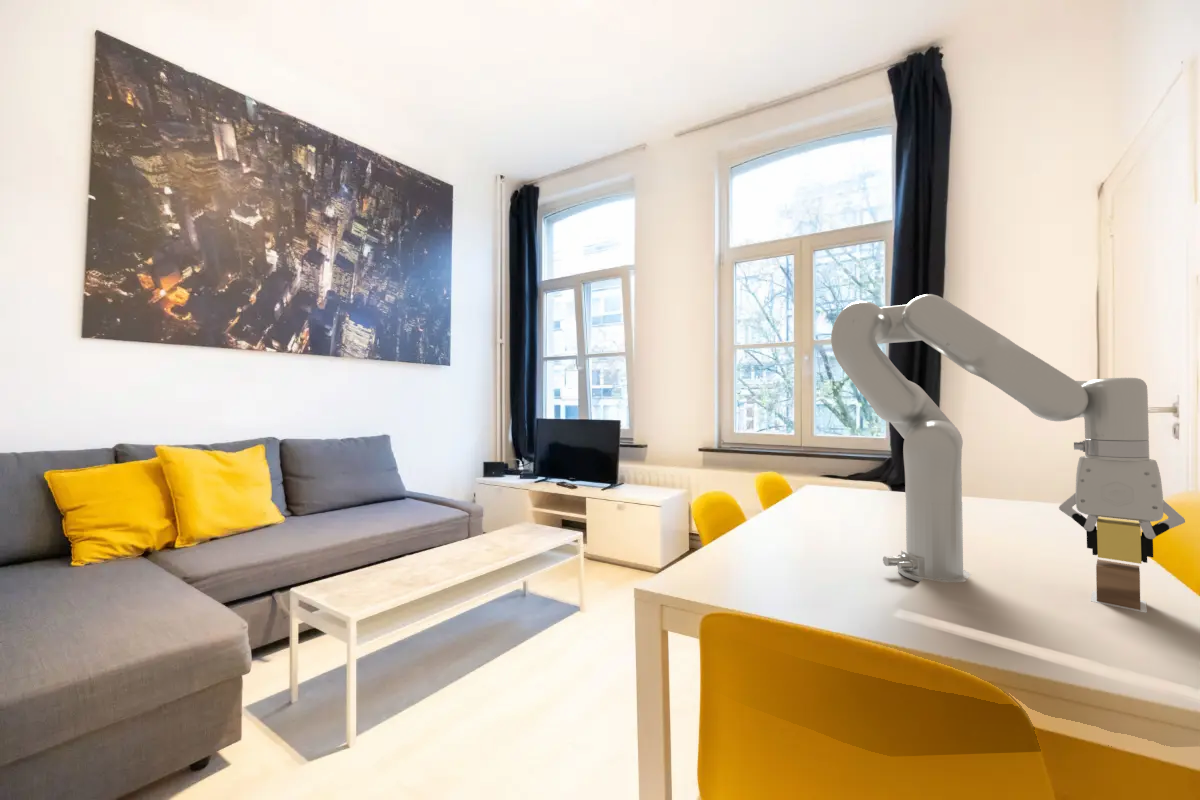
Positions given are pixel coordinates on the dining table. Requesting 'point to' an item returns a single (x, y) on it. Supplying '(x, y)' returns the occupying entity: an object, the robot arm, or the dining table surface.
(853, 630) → the dining table surface
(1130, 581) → the walnut block
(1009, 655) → the dining table surface
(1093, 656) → the dining table surface
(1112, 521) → the mustard block
